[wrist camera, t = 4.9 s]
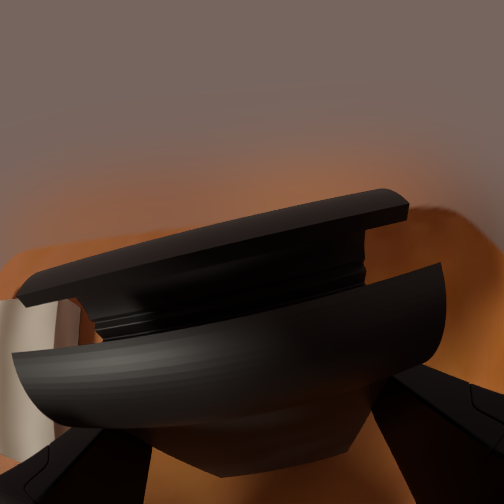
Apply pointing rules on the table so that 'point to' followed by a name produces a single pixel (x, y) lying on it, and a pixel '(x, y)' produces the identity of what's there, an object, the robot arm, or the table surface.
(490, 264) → the table surface
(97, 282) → the phone stand
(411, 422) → the robot arm
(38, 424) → the base block
